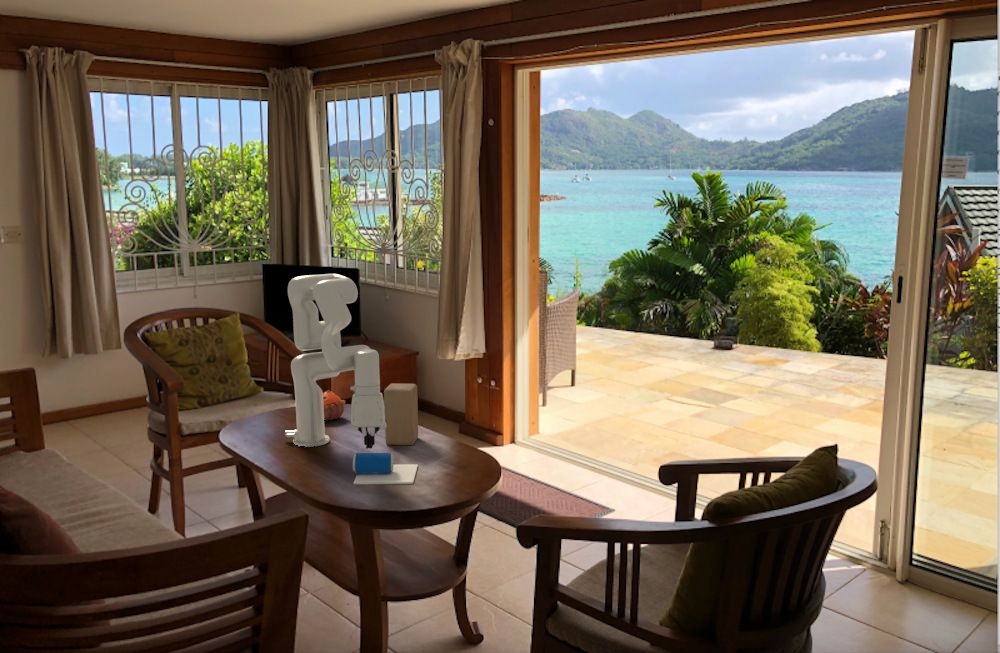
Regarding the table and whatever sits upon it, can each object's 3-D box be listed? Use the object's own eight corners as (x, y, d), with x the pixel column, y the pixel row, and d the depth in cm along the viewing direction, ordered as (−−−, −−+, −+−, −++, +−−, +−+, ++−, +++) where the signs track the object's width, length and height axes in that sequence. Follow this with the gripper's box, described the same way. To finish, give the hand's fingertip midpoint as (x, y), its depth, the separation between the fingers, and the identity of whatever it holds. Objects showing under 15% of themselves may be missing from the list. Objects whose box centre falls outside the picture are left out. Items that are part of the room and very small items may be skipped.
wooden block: (418, 437, 299) (417, 383, 295) (413, 446, 289) (411, 390, 285) (391, 436, 300) (389, 382, 296) (385, 445, 290) (383, 389, 286)
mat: (353, 484, 253) (353, 482, 253) (362, 466, 269) (361, 464, 269) (412, 483, 253) (412, 482, 253) (417, 466, 269) (417, 464, 269)
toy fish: (335, 414, 330) (333, 385, 328) (351, 419, 323) (349, 390, 321) (309, 420, 321) (307, 391, 319) (324, 425, 314) (323, 396, 312)
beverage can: (351, 471, 256) (390, 470, 256) (353, 450, 259) (391, 450, 259) (355, 476, 262) (393, 475, 262) (356, 456, 264) (394, 455, 265)
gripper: (340, 393, 252) (343, 451, 255) (390, 392, 252) (392, 450, 255) (345, 387, 260) (347, 443, 263) (393, 386, 260) (395, 443, 263)
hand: (369, 447), depth 259 cm, fingers closed
